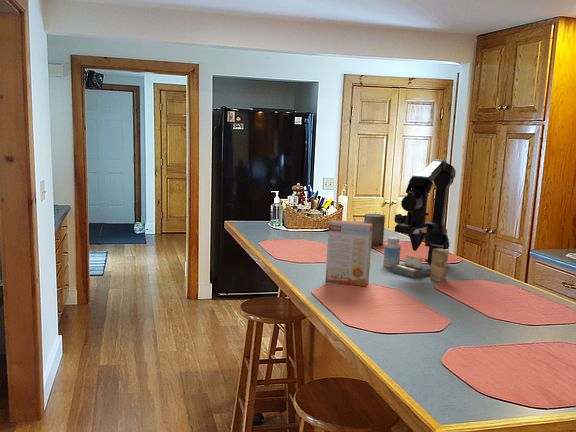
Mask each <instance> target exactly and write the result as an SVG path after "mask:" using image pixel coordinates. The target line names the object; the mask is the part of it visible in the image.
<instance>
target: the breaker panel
mask: <svg viewBox="0 0 576 432" xmlns="http://www.w3.org/2000/svg"><path fill="white" fill-rule="evenodd" d="M413 266H414V264H413V265H412V266H409V265H406V264H405V262H404V263H399V264H397V265H392V267H391V272H392V273H396V274H398V275H400V276H401V275H402V276H405V277H408V278H411V279H415V278H420V277H421V278H423V277H427V276H430V271H431V265H430V266H429V265H426V264H423V263H422V268H416V267H413Z"/></svg>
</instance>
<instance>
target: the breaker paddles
mask: <svg viewBox="0 0 576 432" xmlns="http://www.w3.org/2000/svg"><path fill="white" fill-rule="evenodd" d="M404 259H405V261H404V263H405V264H406V265H409V266H412V265H413V264H414V266H413V267H416V268H422V264H423V261H424V260H423V258H422V257H418V256H415V255H410V254H406V256H405V258H404Z"/></svg>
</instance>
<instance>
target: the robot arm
mask: <svg viewBox="0 0 576 432" xmlns="http://www.w3.org/2000/svg"><path fill="white" fill-rule="evenodd" d="M430 162H431V163H429V165H428V166H427V167H426V168H425V169H424V170H423V171H422V172H417V173H415V174H413V175H412V176H411V177H410V178H409V181H408V184H407V186H406V189H405V194H407V195H405V196H404V197H403V198H402V199H401V201H400V205H401V208H402V209H403V210H404V211H406V212H407V213H406V214H405V215H402V213H397V214H395V215H394V222H395V224H396V225H395V226H394V233H398V234H403V235H408V237H409V240H410V243H411V247H412V251H414V252H416V251H417V250H418V249H419V247H420V246H421V244H422V243H423V241H424V246H425V247H428V254H427V258H425V259H424V261H426V262H427V263H428V262H429V263H431V261H432V250H433V249H437V248H441V249H445V250H449V249H450V240H449V236H448V229H447V227H446V225H445V217H446V211H447V210H446V209H447V200H448V192H449V188H450V187H451V185H452V184H453V183H454V179H455V178H456V169H455V168H454V166H453V164H450V163H448V162H447V161H446V160H444V159H438V158H437V159H436V158H435V159H432V160H431V161H430ZM434 186H435V197H434V204H433V213H432V221H431V222H430V221H427V220H426V219H427V216H430V213H429V212H427V209H428V208H427V207H428V197H429V194H430V192H431V191H432V188H433V187H434Z"/></svg>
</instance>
